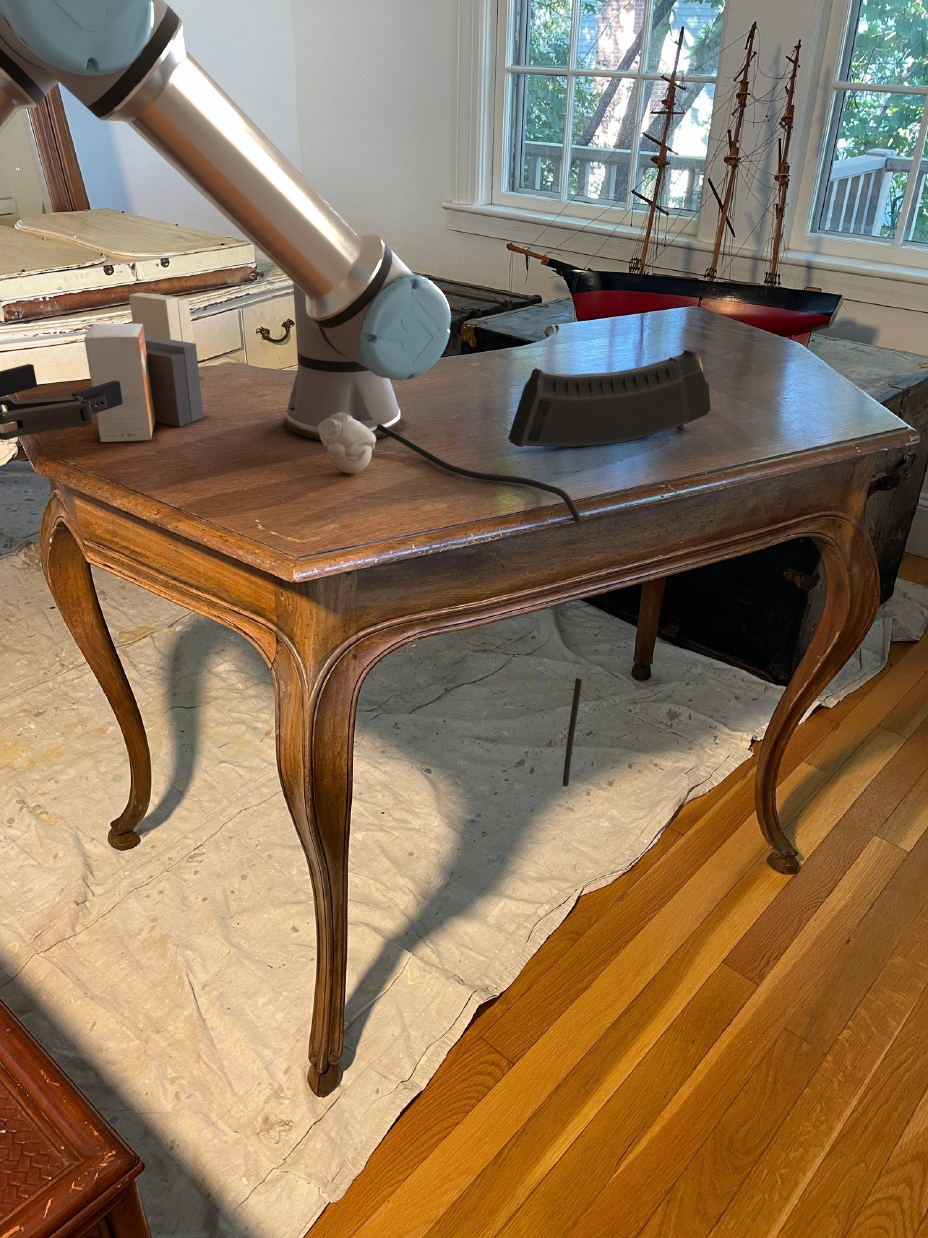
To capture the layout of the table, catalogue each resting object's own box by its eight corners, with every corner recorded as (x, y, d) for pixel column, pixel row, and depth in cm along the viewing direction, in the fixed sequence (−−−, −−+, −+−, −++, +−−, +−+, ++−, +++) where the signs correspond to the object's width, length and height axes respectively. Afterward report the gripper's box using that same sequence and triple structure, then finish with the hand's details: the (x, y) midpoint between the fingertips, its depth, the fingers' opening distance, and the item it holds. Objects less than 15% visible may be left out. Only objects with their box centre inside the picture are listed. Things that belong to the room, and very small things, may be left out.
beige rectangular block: (197, 378, 143) (188, 294, 137) (176, 385, 139) (165, 300, 133) (162, 372, 145) (151, 289, 139) (140, 379, 141) (128, 294, 135)
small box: (152, 441, 117) (138, 336, 110) (99, 442, 115) (82, 337, 109) (156, 421, 124) (143, 322, 117) (106, 423, 122) (90, 322, 116)
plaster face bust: (331, 459, 113) (329, 404, 110) (384, 467, 112) (384, 410, 108) (311, 476, 108) (308, 418, 105) (367, 484, 107) (366, 425, 103)
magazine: (506, 388, 111) (704, 301, 118) (493, 381, 114) (688, 296, 121) (532, 508, 121) (713, 421, 129) (520, 499, 124) (698, 414, 131)
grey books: (203, 417, 126) (195, 343, 121) (179, 426, 122) (170, 350, 117) (158, 408, 129) (148, 335, 124) (133, 417, 125) (122, 342, 120)
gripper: (-156, 445, 99) (5, 398, 116) (12, 489, 90) (160, 431, 107) (-178, 375, 95) (-7, 337, 112) (-5, 414, 87) (152, 366, 103)
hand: (75, 383), depth 110 cm, fingers open, 13 cm apart
